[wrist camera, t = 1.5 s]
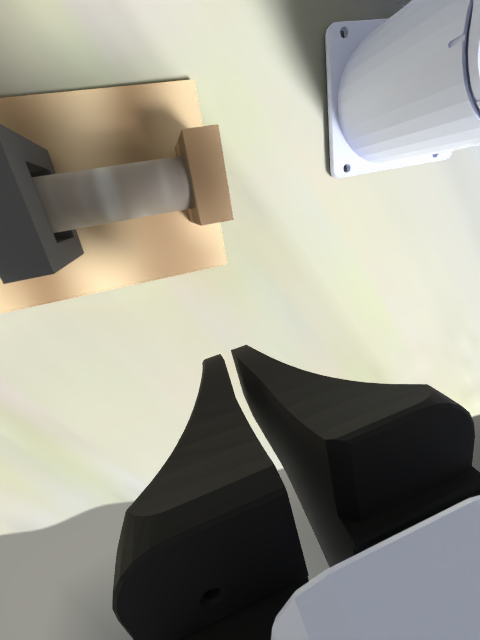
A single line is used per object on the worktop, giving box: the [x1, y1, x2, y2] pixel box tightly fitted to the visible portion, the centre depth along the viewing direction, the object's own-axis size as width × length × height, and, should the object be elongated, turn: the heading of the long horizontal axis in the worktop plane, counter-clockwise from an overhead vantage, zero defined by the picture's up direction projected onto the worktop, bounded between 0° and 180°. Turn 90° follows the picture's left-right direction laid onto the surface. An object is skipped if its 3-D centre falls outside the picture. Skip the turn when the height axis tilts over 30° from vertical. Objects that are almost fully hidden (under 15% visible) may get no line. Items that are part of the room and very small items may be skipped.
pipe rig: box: [0, 79, 233, 314], centre depth 14 cm, size 20×10×5 cm, turn 99°
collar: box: [0, 124, 84, 284], centre depth 13 cm, size 2×5×6 cm, turn 9°
